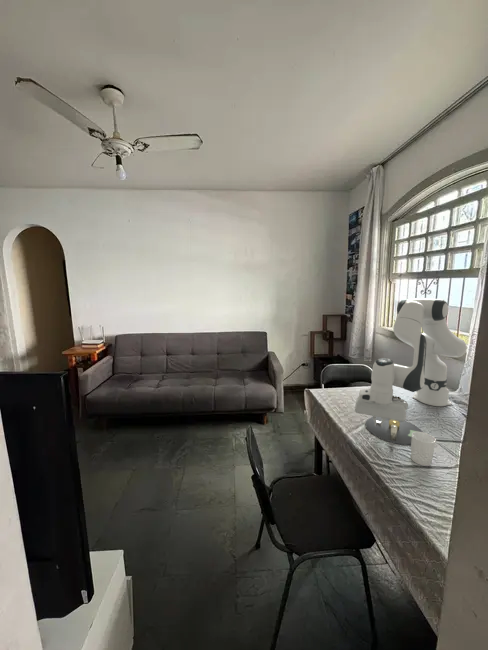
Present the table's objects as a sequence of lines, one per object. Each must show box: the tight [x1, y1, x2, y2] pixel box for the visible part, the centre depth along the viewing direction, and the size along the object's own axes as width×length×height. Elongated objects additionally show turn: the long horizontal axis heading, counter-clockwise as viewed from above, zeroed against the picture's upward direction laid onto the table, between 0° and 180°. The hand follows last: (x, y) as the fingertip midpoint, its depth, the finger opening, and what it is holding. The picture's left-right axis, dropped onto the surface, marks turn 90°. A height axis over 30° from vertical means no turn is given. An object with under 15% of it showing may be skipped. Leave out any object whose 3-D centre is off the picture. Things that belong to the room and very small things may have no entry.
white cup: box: [410, 431, 437, 467], centre depth 109 cm, size 8×8×10 cm
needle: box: [389, 419, 400, 441], centre depth 127 cm, size 14×4×6 cm, turn 151°
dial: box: [365, 416, 423, 446], centre depth 132 cm, size 24×24×1 cm
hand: (378, 425), depth 124 cm, fingers closed
